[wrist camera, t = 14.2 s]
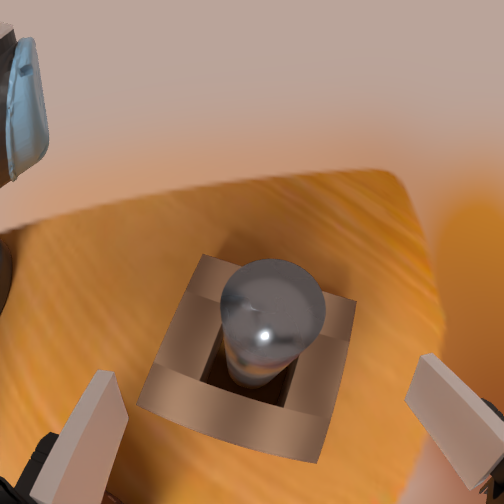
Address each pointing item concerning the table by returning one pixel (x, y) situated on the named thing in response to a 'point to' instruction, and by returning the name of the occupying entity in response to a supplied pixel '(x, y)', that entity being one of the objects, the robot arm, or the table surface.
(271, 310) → the peg
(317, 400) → the square block with hole
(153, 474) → the table surface
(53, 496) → the robot arm
